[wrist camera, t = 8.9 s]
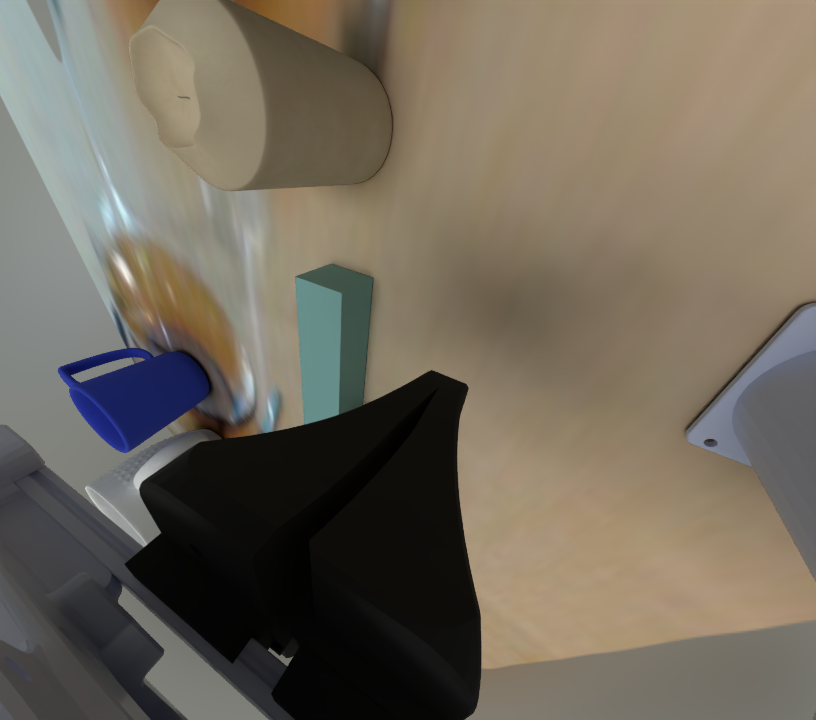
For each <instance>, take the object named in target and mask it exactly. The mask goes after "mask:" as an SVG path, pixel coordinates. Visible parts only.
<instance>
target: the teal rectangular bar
mask: <svg viewBox="0 0 816 720" xmlns="http://www.w3.org/2000/svg"><path fill="white" fill-rule="evenodd" d="M295 282H296V298H297V314H298V331H299V347H300V363H301V379H302V395H303V412H304V425H305V424H309V423H312V422H316V421H320V420H323V419H327V418H330V417H333V416H336V415H339V414H342V413H345V412H347V411H350V410H352V409H355V408H357V407H360V406H362V405H363V395H364V383H365V370H366V358H367V346H368V334H369V322H370V310H371V297H372V285H373V278H372V277H369V276H366V275H363V274H360V273H357V272H354V271H351V270H348V269H345V268H342V267H339V266H336V265H333V264H329V265H326V266H323V267H321V268H318V269H315V270H312V271H309V272H307V273H304V274H301V275H298V276H295Z"/></svg>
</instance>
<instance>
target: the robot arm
mask: <svg viewBox="0 0 816 720" xmlns="http://www.w3.org/2000/svg"><path fill="white" fill-rule="evenodd" d="M468 389H469V388H468V386H467V384H465V383H462V382H460V381H457V380H455V379H452V378H450V377H448V376H445V375H443V374H440V373H438V372H435V371H433V370H431V371H428V372H427V373H425V374H423V375H421V376H420V377H418V378H416V379H415V380H413V381H411V382H409V383H407V384H406V385H404V386H402V387H400V388H398V389H396V390H394V391H392V392H390V393H388V394H386V395H384V396H382V397H380V398H378V399H376V400H374V401H371V402H369V403H367V404H365V405H362V406H360V407H357V408H355V409H352V410H350V411H347V412H345V413H342V414H339V415H336V416H333V417H330V418H327V419H323V420H320V421H316V422H312V423H309V424H305V425H301V426H297V427H293V428H289V429H284V430H279V431H274V432H268V433H263V434H257V435H251V436H244V437H236V438H228V439H220V440H212V441H201V442H199V443H197V444H196V445H194V446H193V447H191V448H190V449H188V450H187V451H185V452H184V453H183V454H181V455H180V456H178V457H177V458H175V459H174V460H172V461H171V462H170V463H168V464H167V465H165V466H164V467H162V468H161V469H159V470H158V471H157V472H155V473H154V474H152V475H151V476H149V477H148V478H146V479H145V480H144V481H142V483H141V484H140V488H139V493H140V496H141V498H142V501H143V503H144V504H145V506H146V508H147V510H148V511H149V513H150V515H151V516H152V518H153V520H154V522H155V523H156V525H157V527H158V528H159V530H160V532H161V533H160V534H159V535H158V536H157V537H156V538H154V539H153V540H152V541H151V542H150V543H148V544H147V545H146V546H145V547H143V546H142V545H141V544H139V543H138V542H137V541H136V540H135V539H133V538H132V537H131V536H130V535H129V534H127V533H126V532H125V531H124V530H123V529H121V528H120V527H119V526H118V525H117V524H115V523H114V522H113V521H112V520H111V519H109V518H108V517H107V516H106V515H105V514H103V513H102V512H101V511H100V510H98V509H97V508H96V507H95V506H94V505H92V504H91V503H90V502H89V501H88V500H87V499H85V498H84V497H83V496H82V495H81V494H79V493H78V492H77V491H76V490H74V489H73V488H72V487H71V486H70V485H68V484H67V483H66V482H65V481H64V480H62V479H61V478H60V477H59V476H58V475H57V474H55V473H54V472H53V471H52V470H50V469H49V468H48V467H47V466H46V465H44V464H45V462H44V461H43V459H42V458H41V457H40V455H39V454H38V453H37V452H36V451H35V449H34V448H33V447H32V446H31V445H30V444H29V443H28V442H27V441H26V440H24V439H23V438H22V437H21V436H20V435H18V434H17V433H16V432H15V431H13V430H12V429H11V428H10V427H8V426H7V425H0V720H187V718H186V717H185V716H183V714H182V713H180V712H179V711H178V710H177V709H176V708H175V707H174V706H173V705H172V704H171V703H170V702H169V701H168V700H167V699H166V698H165V697H164V696H163V695H162V694H161V693H160V692H159V691H158V690H157V689H156V688H155V687H154V686H153V685H152V684H151V683H150V682H149V681H148V680H147V679H146V678H145V676H146V674H147V673H148V672H149V671H150V669H151V668H152V667H153V666H154V665H155V664H156V663H157V662H158V661H159V659H160V658H161V657H162V656H163V654H164V649H163V648H162V647H161V646H160V645H159V644H158V643H157V642H156V641H155V640H154V639H153V638H152V637H151V636H150V635H149V634H148V633H147V632H146V631H145V630H144V629H143V628H142V627H141V626H140V625H139V624H138V623H137V622H136V620H135V619H134V618H133V617H132V616H131V615H130V614H129V613H128V612H127V611H125V609H123V607H122V606H120V605H119V604H118V598H119V596H120V594H121V592H122V585H123V586H124V587H125V588H126V589H127V590H128V591H129V592H130V593H131V594H132V595H134V596H135V597H136V598H137V599H138V600H139V601H140V602H141V603H142V604H143V605H144V606H145V607H147V608H148V609H149V610H150V611H151V612H152V613H153V614H155V616H156V617H157V618H159V619H160V620H161V621H162V622H163V623H164V624H165V625H166V626H167V627H168V628H170V629H171V630H172V631H173V632H174V633H175V634H176V635H177V636H178V637H179V638H180V639H182V640H183V641H184V642H185V643H186V644H187V645H188V646H189V647H190V648H191V649H192V650H194V651H195V652H196V653H197V654H198V655H199V656H200V657H201V658H202V659H203V660H204V661H205V662H207V663H208V664H209V665H210V666H211V667H212V668H213V669H214V670H215V671H216V672H217V673H219V674H220V675H221V676H222V677H223V678H224V679H225V680H226V681H227V682H228V683H229V684H231V685H232V686H233V687H234V688H235V689H236V690H237V691H238V692H239V693H241V694H242V695H243V696H244V697H245V698H246V699H247V700H248V701H249V702H250V703H251V704H252V705H254V706H255V707H256V708H257V709H258V710H259V711H260V712H261V713H262V714H263V715H264V716H265V717H267V718H268V719H269V720H465V719H466V718H467V717H469V716H470V715H472V714H473V713H474V711H475V709H476V706H477V703H478V698H479V690H480V680H481V615H480V609H479V605H478V601H477V596H476V592H475V588H474V583H473V579H472V574H471V569H470V565H469V559H468V554H467V548H466V543H465V537H464V530H463V523H462V515H461V508H460V500H459V488H458V472H457V442H458V429H459V419H460V414H461V411H462V408H463V405H464V402H465V399H466V395H467V392H468ZM685 436H686V439H687V441H688V442H689V443H691V444H693V445H695V446H698V447H700V448H703V449H706V450H708V451H711V452H714V453H716V454H719V455H722V456H724V457H727V458H729V459H732V460H735V461H737V462H740V463H743V464H745V465H748V466H750V467H753V468H754V470H755V472H756V473H757V475H758V477H759V479H760V481H761V483H762V484H763V486H764V488H765V490H766V492H767V494H768V495H769V497H770V499H771V501H772V503H773V505H774V506H775V508H776V510H777V512H778V514H779V516H780V517H781V519H782V521H783V523H784V525H785V527H786V528H787V530H788V532H789V534H790V536H791V538H792V539H793V541H794V543H795V545H796V547H797V548H798V550H799V552H800V554H801V556H802V558H803V559H804V561H805V563H806V565H807V567H808V569H809V570H810V572H811V574H812V576H813V578H814V580H815V581H816V303H810V304H807V305H805V306H802V307H801V308H800V309H798V310H797V311H796V312H795V313H794V314H793V315H792V317H791V318H790V319H789V320H788V321H787V322H786V323H785V324H784V325H783V326H782V327H781V328H780V330H779V331H778V332H777V333H776V334H775V335H774V336H773V337H772V338H771V339H770V340H769V342H768V343H767V344H766V345H765V346H764V347H763V348H762V349H761V350H760V351H759V352H758V353H757V355H756V356H755V357H754V358H753V359H752V360H751V361H750V362H749V363H748V364H747V365H746V366H745V368H744V369H743V370H742V371H741V372H740V373H739V374H738V375H737V376H736V377H735V378H734V380H733V381H732V382H731V383H730V384H729V385H728V386H727V387H726V388H725V389H724V390H723V391H722V393H721V394H720V395H719V396H718V397H717V398H716V399H715V400H714V401H713V402H712V403H711V404H710V406H709V407H708V408H707V409H706V410H705V411H704V412H703V413H702V414H701V415H700V416H699V418H698V419H697V420H696V421H695V422H694V423H693V424H692V425H691V426H690V427H689V428H688V429H687V431H686V433H685ZM707 439H714V441H712V442H705V440H707ZM269 648H271V649H272V650H273V651H275V652H276V653H277V654H278V655H279V656H280V655H281V654H282V655H283V656H285V657H286V658H290V657H293V656H294V657H293V658H292V660H291V662H290V663H289V665H288V666H286V665H285V664H284V663H282V662H281V661H280V660H279V659H277V658H276V657H275V656H274V655H273V654H272V653H270V652H269V651H268V649H269ZM813 720H816V712H815V714H814V716H813Z"/></svg>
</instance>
